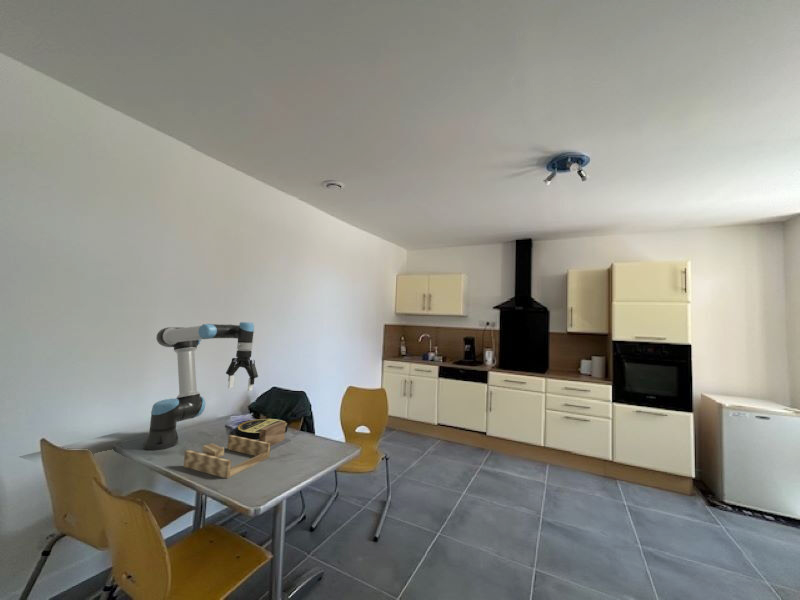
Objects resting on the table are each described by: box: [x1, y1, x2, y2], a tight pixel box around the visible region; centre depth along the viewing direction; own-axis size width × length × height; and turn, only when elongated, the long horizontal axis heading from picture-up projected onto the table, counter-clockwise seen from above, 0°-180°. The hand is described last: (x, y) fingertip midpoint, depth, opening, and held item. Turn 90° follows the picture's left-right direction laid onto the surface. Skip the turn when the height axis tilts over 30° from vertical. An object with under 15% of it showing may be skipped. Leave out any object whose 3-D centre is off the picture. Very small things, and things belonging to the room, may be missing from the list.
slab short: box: [201, 442, 225, 458], centre depth 158 cm, size 4×12×3 cm, turn 56°
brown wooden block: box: [258, 421, 287, 446], centre depth 179 cm, size 4×16×10 cm, turn 160°
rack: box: [183, 434, 271, 479], centre depth 155 cm, size 27×26×7 cm
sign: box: [235, 418, 289, 441], centre depth 200 cm, size 30×4×30 cm
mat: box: [270, 437, 292, 451], centre depth 179 cm, size 10×20×1 cm, turn 160°
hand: (240, 389), depth 173 cm, fingers open, 13 cm apart
